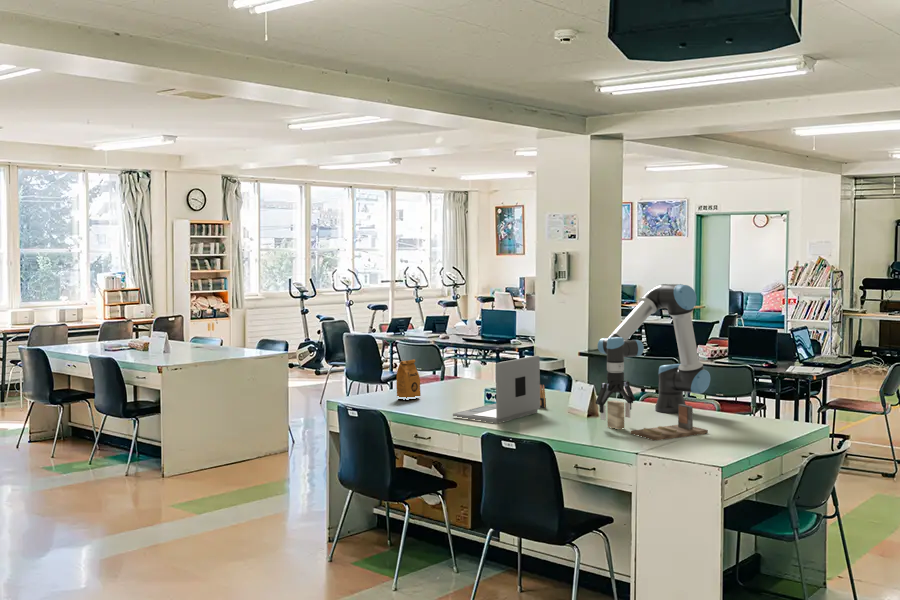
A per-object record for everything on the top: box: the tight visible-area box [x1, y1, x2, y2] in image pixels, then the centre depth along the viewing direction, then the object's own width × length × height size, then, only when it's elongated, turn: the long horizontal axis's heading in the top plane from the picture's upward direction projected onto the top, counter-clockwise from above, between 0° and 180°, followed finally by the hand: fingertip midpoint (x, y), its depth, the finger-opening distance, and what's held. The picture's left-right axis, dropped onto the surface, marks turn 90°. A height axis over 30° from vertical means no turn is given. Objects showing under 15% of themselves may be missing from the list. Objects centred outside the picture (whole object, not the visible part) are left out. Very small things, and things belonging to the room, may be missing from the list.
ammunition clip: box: [539, 384, 547, 409], centre depth 463 cm, size 11×2×12 cm, turn 44°
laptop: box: [452, 355, 541, 424], centre depth 440 cm, size 36×28×29 cm
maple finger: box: [606, 399, 625, 430], centre depth 403 cm, size 4×7×12 cm, turn 26°
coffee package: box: [395, 359, 422, 398], centre depth 493 cm, size 10×12×22 cm
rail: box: [630, 404, 709, 441], centre depth 389 cm, size 29×16×12 cm, turn 116°
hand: (615, 418), depth 403 cm, fingers open, 13 cm apart
